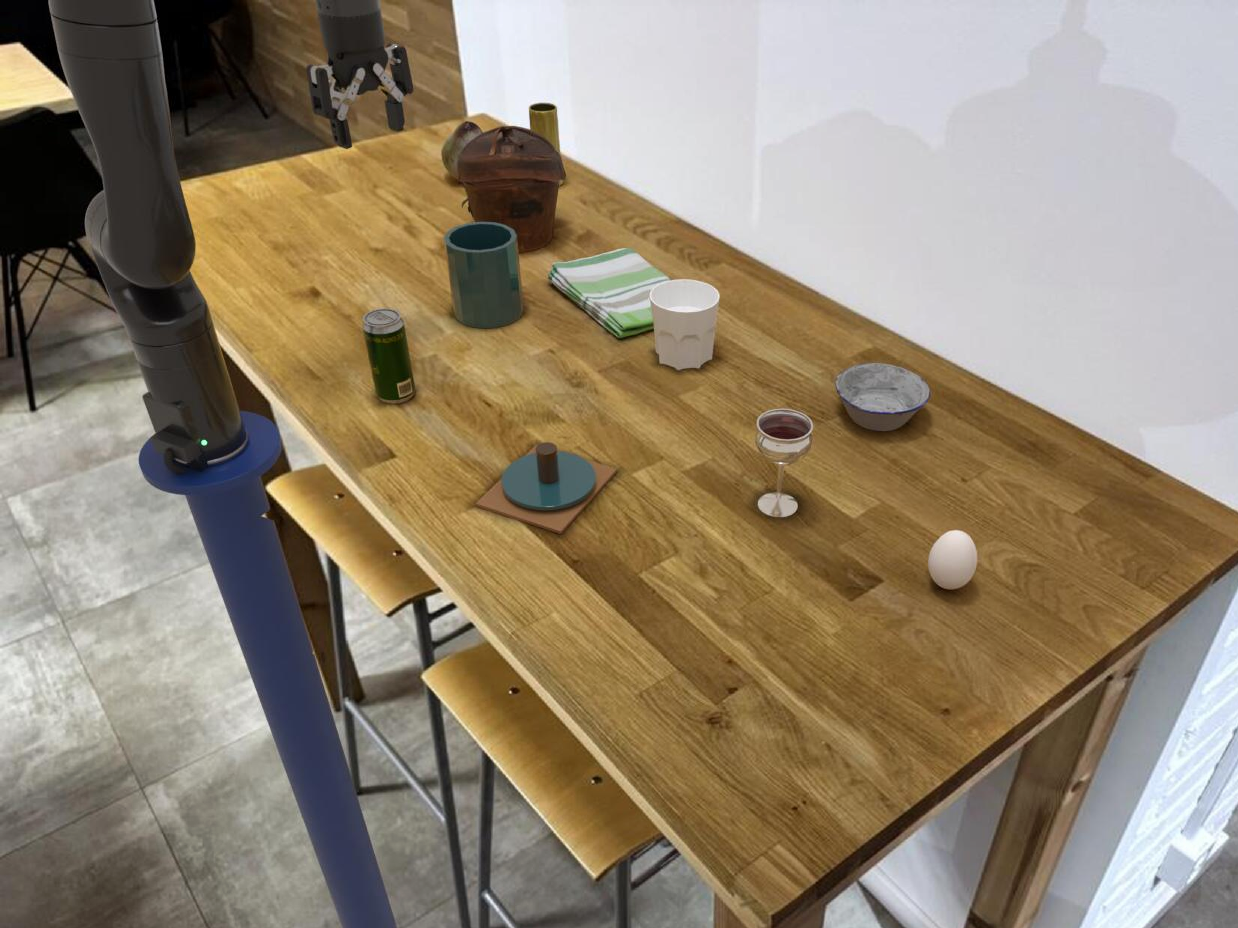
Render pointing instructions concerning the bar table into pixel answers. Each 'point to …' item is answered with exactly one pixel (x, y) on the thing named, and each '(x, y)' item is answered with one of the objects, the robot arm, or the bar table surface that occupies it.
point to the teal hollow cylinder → (484, 274)
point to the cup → (684, 322)
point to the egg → (953, 560)
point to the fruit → (458, 145)
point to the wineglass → (782, 452)
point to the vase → (545, 123)
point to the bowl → (881, 395)
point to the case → (513, 182)
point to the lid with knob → (548, 479)
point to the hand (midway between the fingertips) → (371, 138)
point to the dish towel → (611, 289)
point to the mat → (544, 518)
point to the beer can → (388, 355)
